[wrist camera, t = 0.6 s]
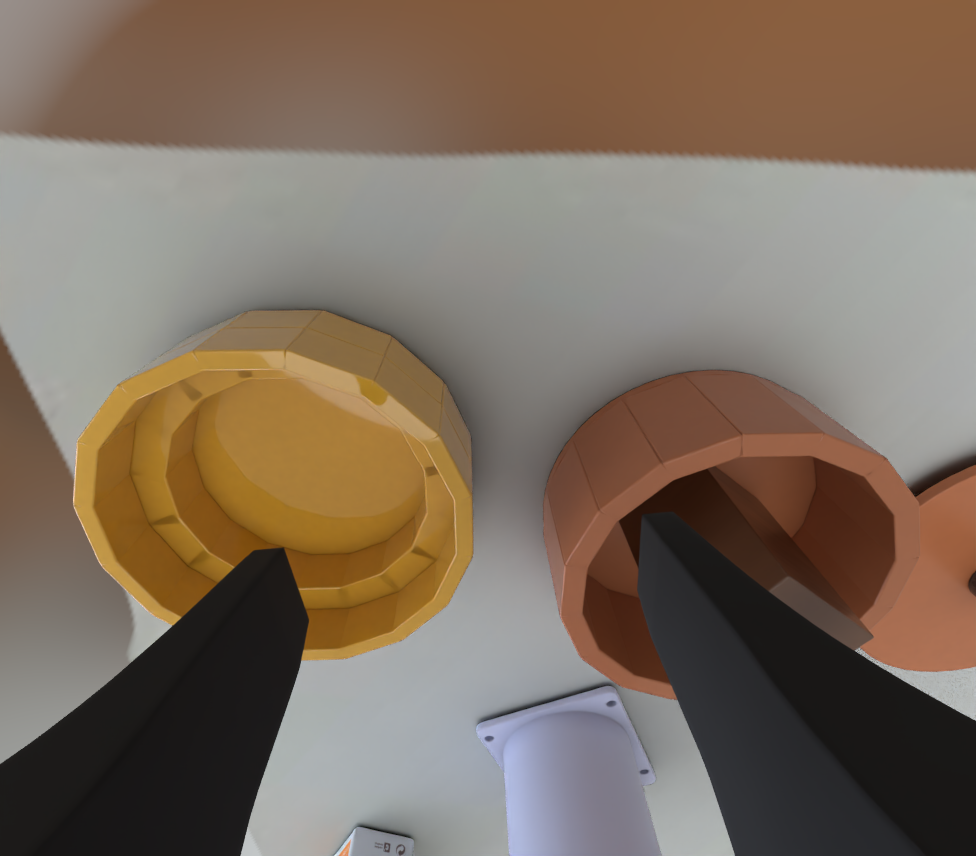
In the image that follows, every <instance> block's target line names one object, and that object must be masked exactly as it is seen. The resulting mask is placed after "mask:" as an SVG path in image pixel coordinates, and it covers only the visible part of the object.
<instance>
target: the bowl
mask: <svg viewBox="0 0 976 856" xmlns="http://www.w3.org/2000/svg"><path fill="white" fill-rule="evenodd" d="M73 504H74V509H75V511H76V513H77V515H78V518H79V519H80V522H81V524H82V526H83V529H84V531H85V533H86V535H87V537H88V539H89V542H90V544H91V546H92V548H93V550H94V552H95V555H96V557H97V559H98V561H99V563H100V564H101V566H102V567H103V568H104V569H105V570H106V571H107V572H108V573H109V574H110V575H111V576H112V577H113V578H114V579H115V580H116V581H117V582H118V583H119V584H120V585H121V586H122V587H123V588H124V589H125V590H126V591H127V592H128V593H129V594H130V595H131V596H132V597H134V598H135V599H136V600H137V601H138V602H139V603H140V604H141V605H142V606H143V607H144V608H145V609H146V610H147V611H148V612H149V613H151V615H153V616H155V617H157V618H159V619H161V620H163V621H165V622H167V623H168V624H170V625H172V626H173V625H174V624H175V623H176V622H177V621H178V620H179V619H181V618H182V617H183V616H184V615H185V614H186V613H187V612H188V611H189V610H190V609H191V608H192V607H193V606H194V605H196V604H197V603H198V602H199V601H200V600H201V599H202V598H203V597H204V596H205V595H206V594H207V593H208V592H209V591H210V590H211V589H212V588H213V587H215V586H216V585H217V584H218V583H219V582H220V581H221V580H222V579H223V578H224V577H225V576H226V575H227V574H228V573H229V572H230V571H231V570H232V569H233V568H235V567H236V566H237V565H238V564H239V563H240V562H241V561H242V560H243V559H244V558H245V557H247V556H248V555H249V554H250V553H251V552H252V551H254V550H261V549H271V548H282V547H284V549H285V552H286V555H287V558H288V561H289V563H290V566H291V569H292V572H293V575H294V578H295V581H296V583H297V586H298V589H299V592H300V595H301V598H302V600H303V603H304V606H305V609H306V612H307V615H308V618H309V624H308V629H307V634H306V640H305V645H304V650H303V654H302V659H301V661H304V660H337V659H344V658H345V659H347V658H350V657H353V656H356V655H359V654H363V653H366V652H369V651H372V650H375V649H378V648H381V647H384V646H387V645H390V644H393V643H396V642H400V641H402V640H404V639H405V638H406V637H408V636H409V635H410V634H412V633H413V632H414V631H415V630H417V629H418V628H419V627H421V626H422V625H423V624H424V623H426V622H427V621H428V620H430V619H431V618H432V617H433V616H435V615H436V614H437V613H439V612H440V611H441V610H442V609H444V608H445V607H446V606H447V605H448V604H449V602H450V600H451V598H452V596H453V594H454V592H455V590H456V588H457V586H458V584H459V583H460V581H461V579H462V577H463V575H464V573H465V571H466V569H467V567H468V565H469V563H470V561H471V559H472V557H473V491H472V438H471V435H470V433H469V431H468V428H467V426H466V424H465V422H464V420H463V418H462V416H461V414H460V412H459V410H458V408H457V406H456V404H455V402H454V400H453V398H452V396H451V394H450V392H449V390H448V388H447V386H446V384H445V383H444V382H443V380H442V379H440V378H439V377H438V376H437V375H436V374H435V373H434V372H432V371H431V370H430V369H429V368H428V367H427V366H426V365H424V364H423V363H422V362H421V361H420V360H419V359H418V358H416V357H415V356H414V355H413V354H412V353H411V352H410V351H408V350H407V349H406V348H405V347H404V346H403V345H402V344H400V343H399V342H398V341H397V340H396V339H395V338H392V336H391V335H388V334H385V333H383V332H380V331H377V330H375V329H372V328H369V327H367V326H364V325H361V324H359V323H356V322H353V321H351V320H348V319H345V318H343V317H340V316H337V315H335V314H332V313H329V312H327V311H324V310H323V311H320V310H271V311H249V312H248V311H246V312H243V313H241V314H239V315H237V316H235V317H232V318H230V319H228V320H226V321H224V322H221V323H219V324H217V325H215V326H212V327H210V328H208V329H206V330H204V331H201V332H199V333H197V334H195V335H193V336H190V337H188V338H187V339H185V340H184V341H182V342H181V343H179V344H178V345H176V346H175V347H173V348H172V349H170V350H169V351H167V352H166V353H164V354H163V355H161V356H160V357H159V358H157V359H155V360H153V361H152V362H150V363H149V364H147V365H146V366H144V367H143V368H141V369H140V370H138V371H137V372H135V373H134V374H132V375H131V376H129V377H128V378H126V379H125V380H123V381H122V382H121V383H119V384H118V385H117V386H116V387H115V389H114V390H113V391H112V393H111V394H110V395H109V397H108V398H107V400H106V401H105V402H104V404H103V405H102V406H101V408H100V409H99V410H98V412H97V413H96V414H95V416H94V417H93V419H92V420H91V421H90V423H89V424H88V425H87V427H86V428H85V429H84V431H83V432H82V433H81V435H80V436H79V438H78V441H77V446H76V462H75V478H74V494H73Z"/></svg>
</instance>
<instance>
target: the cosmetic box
mask: <svg viewBox="0 0 976 856" xmlns="http://www.w3.org/2000/svg"><path fill="white" fill-rule="evenodd" d="M413 848H414V840H413V839H411V838H407V837H403V836H398V835H393V834H389V833H385V832H380V831H375V830H371V829H367V828H363V827H356V828H355V829H354V831H353V832H352V834H351V835H350V836H349V838H348V839H347V840H346V842H345V843H344V844H343V846H342V847H341V848H340V850H339V851H338V852H337V853H336V854H335V855H334V856H413Z"/></svg>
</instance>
